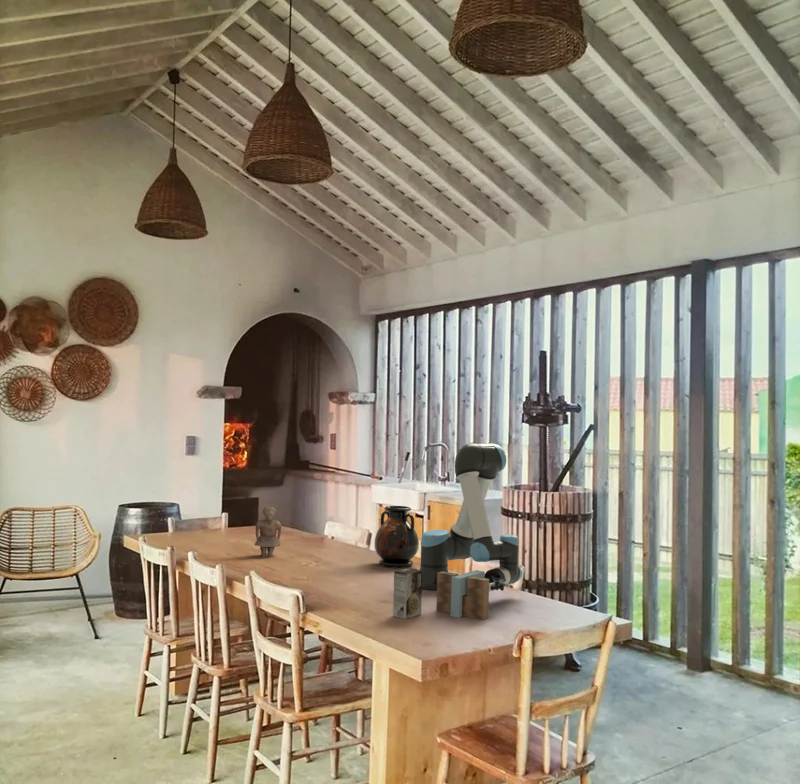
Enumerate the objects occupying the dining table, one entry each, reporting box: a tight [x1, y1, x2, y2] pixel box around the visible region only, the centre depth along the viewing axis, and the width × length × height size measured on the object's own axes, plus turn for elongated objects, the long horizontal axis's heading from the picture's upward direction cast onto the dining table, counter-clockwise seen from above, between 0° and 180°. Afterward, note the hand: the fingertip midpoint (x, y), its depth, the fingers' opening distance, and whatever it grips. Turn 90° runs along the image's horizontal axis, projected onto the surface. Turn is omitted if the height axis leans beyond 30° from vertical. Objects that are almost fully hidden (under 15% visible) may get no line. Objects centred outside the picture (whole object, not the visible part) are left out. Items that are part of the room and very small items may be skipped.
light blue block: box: [450, 569, 486, 619], centre depth 294 cm, size 4×18×14 cm, turn 145°
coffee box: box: [392, 567, 423, 620], centre depth 286 cm, size 9×6×16 cm
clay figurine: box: [254, 505, 282, 558], centre depth 396 cm, size 13×10×25 cm
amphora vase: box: [374, 505, 420, 569], centre depth 383 cm, size 22×22×28 cm
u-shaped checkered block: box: [436, 571, 490, 621], centre depth 290 cm, size 20×4×14 cm, turn 54°
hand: (469, 586), depth 294 cm, fingers open, 13 cm apart
